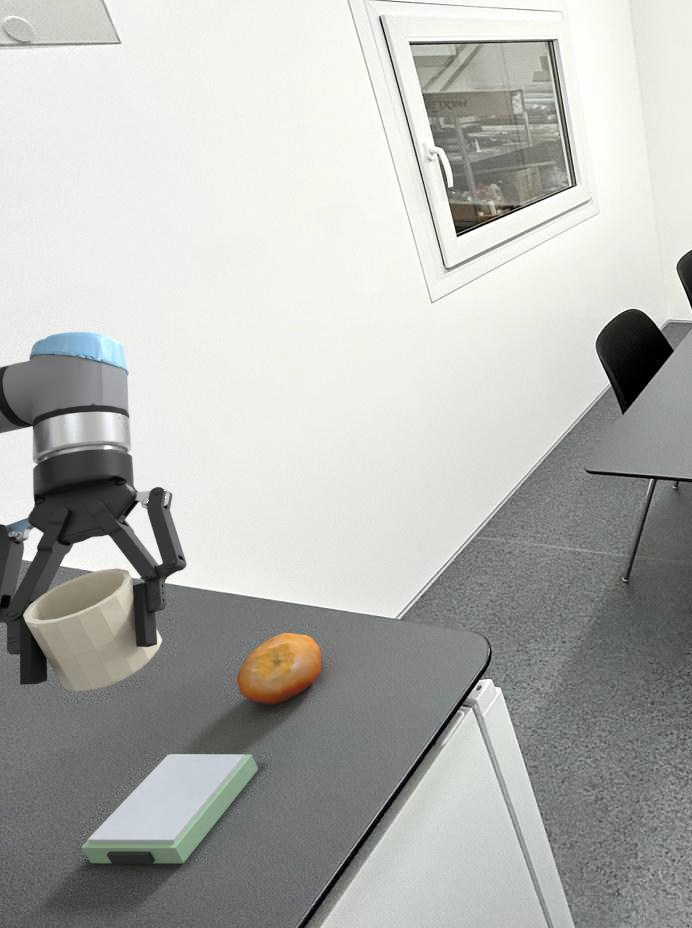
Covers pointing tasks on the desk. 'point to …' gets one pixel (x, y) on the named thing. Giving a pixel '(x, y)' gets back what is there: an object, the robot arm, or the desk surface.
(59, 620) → the cream faceted cup
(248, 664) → the fruit
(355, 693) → the desk surface
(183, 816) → the scale
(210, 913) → the desk surface
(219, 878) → the desk surface
